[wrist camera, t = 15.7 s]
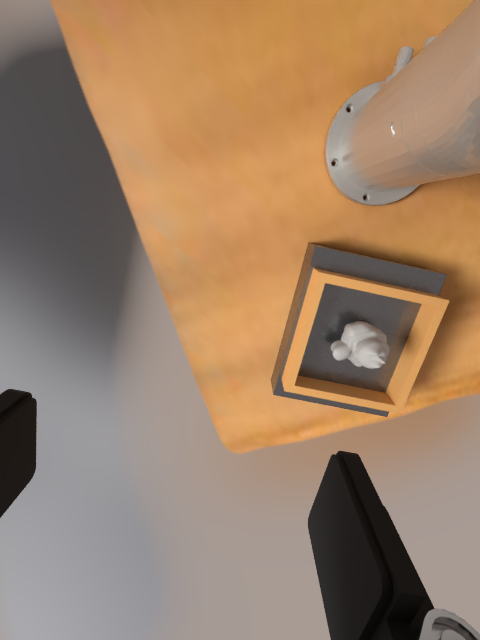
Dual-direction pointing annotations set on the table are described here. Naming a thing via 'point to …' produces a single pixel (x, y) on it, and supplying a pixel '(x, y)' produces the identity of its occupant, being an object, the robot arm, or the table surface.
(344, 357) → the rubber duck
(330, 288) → the wooden tray on slab
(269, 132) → the table surface
